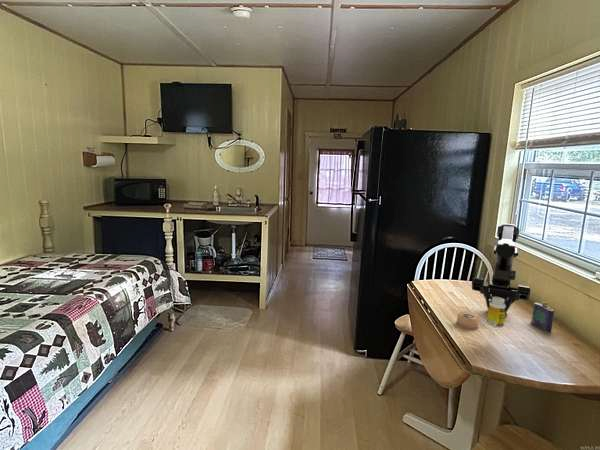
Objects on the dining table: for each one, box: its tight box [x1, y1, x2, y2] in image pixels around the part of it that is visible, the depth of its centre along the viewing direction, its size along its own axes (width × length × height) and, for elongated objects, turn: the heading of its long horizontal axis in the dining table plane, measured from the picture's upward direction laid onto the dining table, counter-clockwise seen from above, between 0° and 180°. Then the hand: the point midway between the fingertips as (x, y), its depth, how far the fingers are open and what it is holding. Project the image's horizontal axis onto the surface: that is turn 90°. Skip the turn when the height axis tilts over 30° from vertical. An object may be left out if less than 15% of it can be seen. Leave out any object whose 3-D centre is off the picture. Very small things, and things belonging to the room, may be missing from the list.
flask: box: [530, 301, 555, 333], centre depth 145 cm, size 9×3×11 cm, turn 8°
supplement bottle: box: [486, 297, 507, 329], centre depth 131 cm, size 6×6×10 cm
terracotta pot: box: [456, 311, 480, 331], centre depth 146 cm, size 8×8×4 cm
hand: (496, 309), depth 129 cm, fingers closed on supplement bottle, 5 cm apart
